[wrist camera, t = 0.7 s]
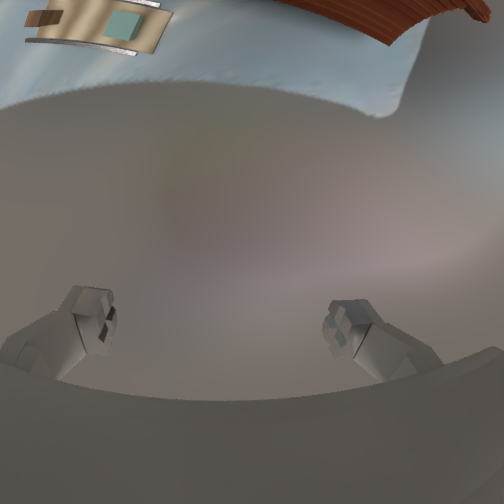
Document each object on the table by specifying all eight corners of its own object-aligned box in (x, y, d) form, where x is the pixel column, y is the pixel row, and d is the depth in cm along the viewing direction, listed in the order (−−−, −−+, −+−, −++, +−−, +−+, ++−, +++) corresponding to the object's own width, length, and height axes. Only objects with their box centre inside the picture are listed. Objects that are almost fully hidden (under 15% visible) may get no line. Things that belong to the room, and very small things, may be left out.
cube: (109, 34, 31) (102, 36, 28) (120, 11, 28) (113, 10, 25) (133, 39, 33) (128, 40, 30) (144, 16, 30) (140, 15, 27)
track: (26, 41, 24) (24, 42, 24) (44, -9, 18) (43, -9, 17) (135, 55, 37) (135, 56, 36) (160, 4, 30) (160, 3, 29)
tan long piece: (38, 36, 25) (12, 43, 18) (53, -4, 20) (29, -5, 13) (152, 53, 37) (144, 59, 31) (172, 13, 32) (169, 9, 26)
